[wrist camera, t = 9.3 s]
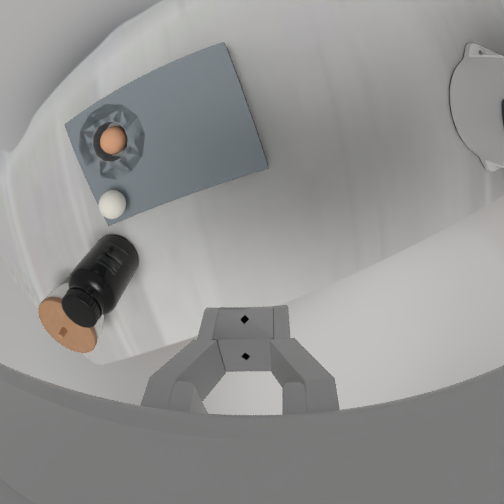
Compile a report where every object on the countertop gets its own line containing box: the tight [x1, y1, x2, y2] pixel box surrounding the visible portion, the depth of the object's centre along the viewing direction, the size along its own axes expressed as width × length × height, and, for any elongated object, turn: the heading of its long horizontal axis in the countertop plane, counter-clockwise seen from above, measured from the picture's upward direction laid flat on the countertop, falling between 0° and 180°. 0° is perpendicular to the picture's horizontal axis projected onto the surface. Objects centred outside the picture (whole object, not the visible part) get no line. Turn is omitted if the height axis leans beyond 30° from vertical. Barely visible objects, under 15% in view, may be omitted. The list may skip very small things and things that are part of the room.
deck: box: [65, 42, 269, 226], centre depth 27 cm, size 20×14×2 cm
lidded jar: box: [39, 283, 104, 353], centre depth 36 cm, size 11×11×9 cm
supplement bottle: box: [61, 235, 138, 328], centre depth 30 cm, size 7×7×12 cm
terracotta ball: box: [100, 126, 127, 154], centre depth 26 cm, size 3×3×3 cm
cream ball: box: [99, 190, 126, 219], centre depth 28 cm, size 3×3×3 cm
